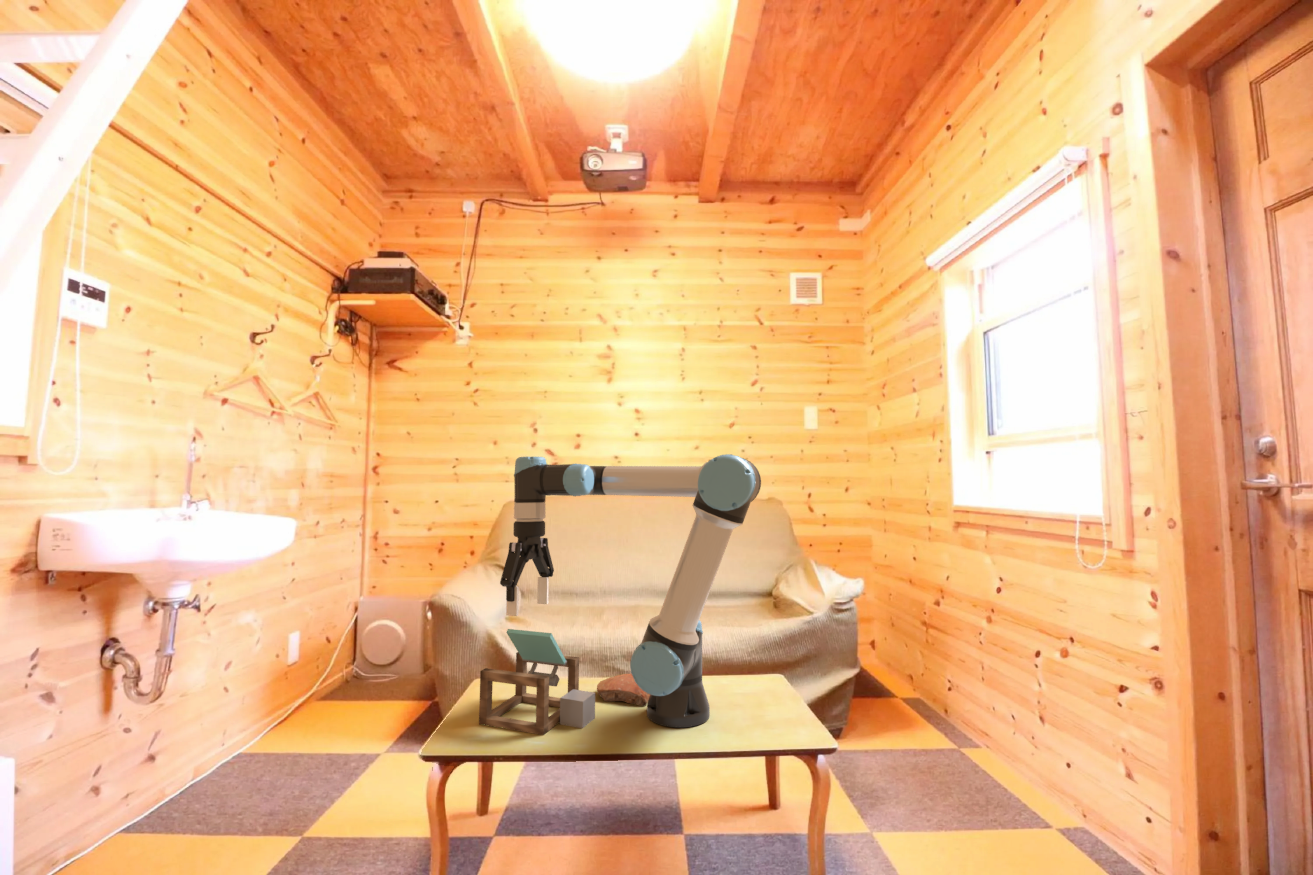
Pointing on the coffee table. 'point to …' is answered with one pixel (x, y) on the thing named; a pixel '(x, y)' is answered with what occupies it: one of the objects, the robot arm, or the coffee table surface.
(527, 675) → the frame
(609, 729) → the coffee table surface
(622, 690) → the ceramic shard
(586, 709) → the gray cube
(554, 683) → the trapdoor
